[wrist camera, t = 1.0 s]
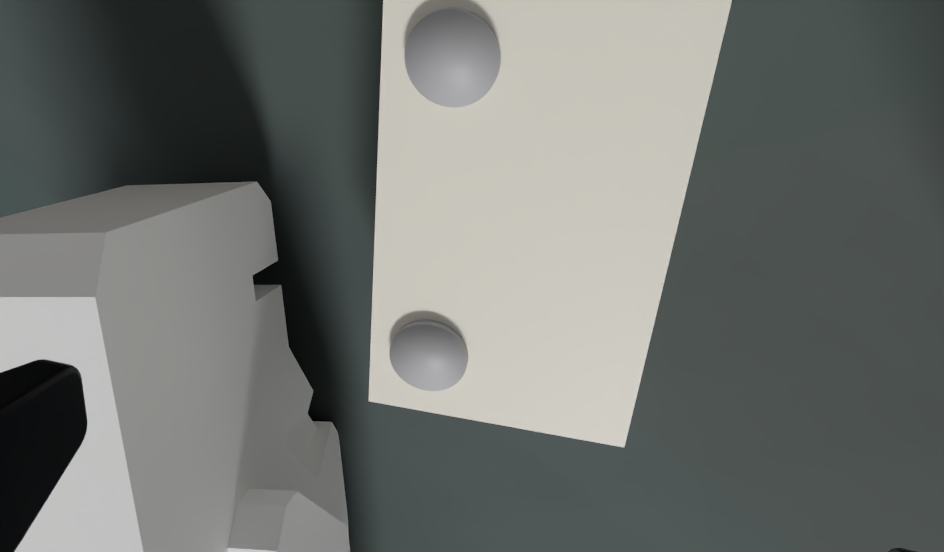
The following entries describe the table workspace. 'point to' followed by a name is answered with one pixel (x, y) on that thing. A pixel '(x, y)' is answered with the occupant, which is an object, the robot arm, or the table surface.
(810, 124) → the table surface
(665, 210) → the white block
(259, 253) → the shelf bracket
